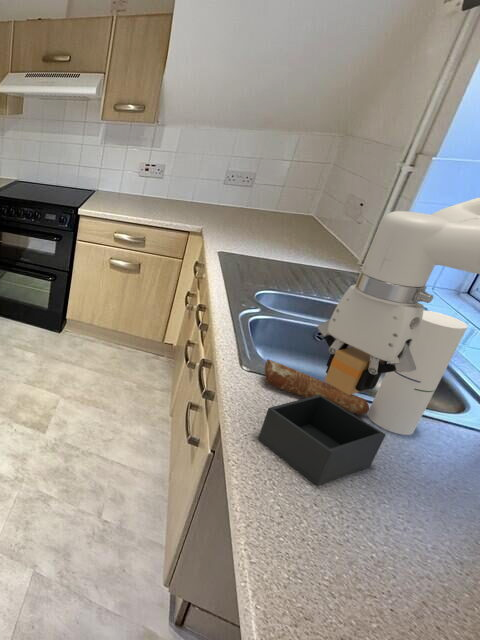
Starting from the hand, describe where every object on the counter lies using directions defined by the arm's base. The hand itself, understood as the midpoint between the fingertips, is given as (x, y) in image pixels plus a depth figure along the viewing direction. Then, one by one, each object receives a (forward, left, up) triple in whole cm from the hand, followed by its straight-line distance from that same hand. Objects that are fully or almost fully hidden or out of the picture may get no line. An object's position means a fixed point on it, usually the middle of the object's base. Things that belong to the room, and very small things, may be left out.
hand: (347, 379), depth 73 cm
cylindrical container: (-24, -1, -17) cm, 30 cm away
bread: (-16, -12, -17) cm, 27 cm away
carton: (0, 0, -1) cm, 1 cm away
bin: (+1, 0, -17) cm, 17 cm away
